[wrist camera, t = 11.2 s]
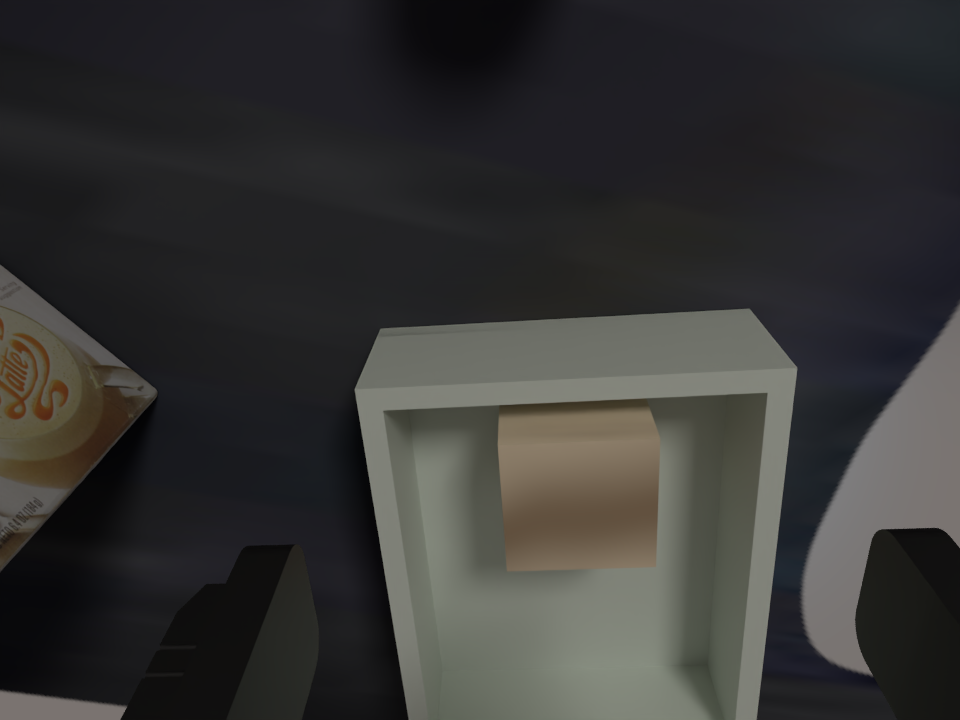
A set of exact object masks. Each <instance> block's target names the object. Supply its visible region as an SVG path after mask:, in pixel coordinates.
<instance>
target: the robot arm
mask: <svg viewBox="0 0 960 720" xmlns="http://www.w3.org/2000/svg"><path fill="white" fill-rule="evenodd" d="M855 621H856V622H855V623H856V632H857V633H856V634H857V639H858V643H859V647H860V650H861V653H862V655H863V657H864V659H865V661H866V664H867V665H868V667H869V669H870V671H871V673H872V674H873V676H874V678H875V680H876V682H877V683H878V685H879V687H880V689H881V691H882V692H883V694H884V696H885V698H886V700H887V702H888V703H889V705H890V707H891V709H892V711H893V712H894V714H895V716H896V718H897V720H960V548H959V547H958V546H957V544H956V543H955V542H954V541H953V539H952V538H951V537H950V536H949V535H948V534H947V533H946V532H945V531H943V530H941V529H939V528H916V529H882V530H879V531H877V532H876V533H875V535H874V536H873V538H872V542H871V546H870V550H869V555H868V559H867V564H866V568H865V573H864V577H863V582H862V587H861V591H860V596H859V600H858V605H857V609H856V618H855ZM318 649H319V629H318V622H317V616H316V612H315V607H314V602H313V597H312V592H311V587H310V582H309V577H308V572H307V567H306V563H305V558H304V554H303V551H302V549H301V547H300V546H299V545H297V544H296V545H261V546H246V547H245V548H243V550H242V551H241V553H240V554H239V556H238V559H237V561H236V563H235V565H234V567H233V569H232V571H231V573H230V576H229V578H228V580H227V582H226V584H206V585H205V586H204V587H203V588H202V589H201V590H200V591H199V592H198V593H197V594H196V595H195V596H194V597H192V598H191V599H190V600H189V601H188V602H187V603H186V604H185V605H184V606H183V607H182V608H181V609H180V610H179V611H178V612H177V614H176V615H175V617H174V619H173V621H172V623H171V625H170V627H169V629H168V631H167V632H166V634H165V636H164V638H163V640H162V642H161V644H160V651H156V653H155V655H154V657H153V659H152V661H151V663H150V665H149V667H148V668H147V670H146V677H145V679H142V680H141V682H140V684H139V685H138V687H137V689H136V691H135V693H134V695H133V697H132V699H131V701H130V703H129V704H128V706H127V708H126V710H125V712H124V714H123V716H122V718H121V720H302V717H303V713H304V709H305V706H306V702H307V699H308V695H309V691H310V688H311V684H312V681H313V677H314V673H315V669H316V665H317V659H318Z"/></svg>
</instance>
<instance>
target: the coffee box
mask: <svg viewBox="0 0 960 720" xmlns="http://www.w3.org/2000/svg"><path fill="white" fill-rule="evenodd" d="M157 393H158V392H157V390H156V389H155V388H154V387H152V386H151V385H150V384H149V383H148V382H147V381H145V380H144V379H143V378H142V377H140V376H139V375H138V374H136V373H135V372H134V371H133V370H131V369H130V368H129V367H128V366H126V365H125V364H124V363H123V362H121V361H120V360H119V359H118V358H116V357H115V356H114V355H113V354H111V353H110V352H109V351H108V350H106V349H105V348H104V347H103V346H101V345H100V344H99V343H98V342H96V341H95V340H94V339H93V338H91V337H90V336H89V335H88V334H86V333H85V332H84V331H83V330H81V329H80V328H79V327H78V326H76V325H75V324H74V323H73V322H71V321H70V320H69V319H68V318H66V317H65V316H64V315H63V314H61V313H60V312H59V311H58V310H56V309H55V308H54V307H53V306H51V305H50V304H49V303H48V302H47V301H45V300H44V299H43V298H41V297H40V296H39V295H38V294H36V293H35V292H34V291H33V290H31V289H30V288H29V287H28V286H26V285H25V284H24V283H23V282H21V281H20V280H19V279H18V278H16V277H15V276H14V275H13V274H11V273H10V272H9V271H8V270H6V269H5V268H4V267H2V266H1V265H0V572H1V570H2V569H3V568H4V567H5V566H6V565H7V564H8V563H9V562H10V561H11V559H12V558H13V557H14V556H15V555H16V554H17V553H18V552H19V551H20V550H21V549H22V547H23V546H24V545H25V544H26V543H27V542H28V541H29V540H30V539H31V537H32V536H33V535H34V534H35V533H36V532H37V531H38V530H39V529H40V528H41V526H42V525H43V524H44V523H45V522H46V521H47V520H48V519H49V518H50V516H51V515H52V514H53V513H54V512H55V511H56V510H57V509H58V508H59V507H60V505H61V504H62V503H63V502H64V501H65V500H66V499H67V498H68V496H69V495H70V494H71V493H72V492H73V491H74V490H75V489H76V487H77V486H78V485H79V484H80V483H81V482H82V481H83V480H84V479H85V478H86V476H87V475H88V474H89V473H90V472H91V471H92V470H93V469H94V468H95V467H96V465H97V464H98V463H99V462H100V461H101V460H102V458H103V457H104V456H105V455H106V454H107V453H108V452H109V450H110V449H111V448H112V447H113V446H114V445H115V444H116V443H117V441H118V440H119V439H120V438H121V437H122V436H123V434H124V433H125V432H126V431H127V430H128V429H129V428H130V427H131V425H132V424H133V423H134V422H135V421H136V420H137V419H138V418H139V416H140V415H141V414H142V413H143V412H144V411H145V410H146V408H147V407H148V406H149V405H150V404H151V403H152V402H153V401H154V399H155V398H156V397H157Z"/></svg>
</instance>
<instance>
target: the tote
mask: <svg viewBox="0 0 960 720" xmlns="http://www.w3.org/2000/svg"><path fill="white" fill-rule="evenodd" d="M796 374H797V367H796V366H795V365H794V363H793V362H792V361H791V360H790V358H789V357H788V356H787V355H786V353H785V352H784V351H783V350H782V349H781V347H780V346H779V345H778V344H777V342H776V341H775V340H774V339H773V337H772V336H771V335H770V334H769V332H768V331H767V330H766V329H765V327H764V326H763V325H762V324H761V322H760V321H759V320H758V319H757V318H756V316H755V315H754V314H753V313H752V311H751V310H750V309H735V310H717V311H698V312H680V313H661V314H643V315H624V316H606V317H588V318H569V319H551V320H532V321H514V322H495V323H477V324H458V325H440V326H421V327H403V328H384V329H380V331H379V333H378V336H377V338H376V341H375V343H374V345H373V348H372V350H371V352H370V355H369V357H368V359H367V362H366V364H365V366H364V369H363V371H362V373H361V376H360V378H359V380H358V383H357V385H356V388H355V394H356V401H357V407H358V413H359V419H360V425H361V431H362V437H363V443H364V449H365V456H366V462H367V468H368V474H369V480H370V486H371V492H372V498H373V504H374V510H375V517H376V523H377V529H378V535H379V541H380V547H381V553H382V559H383V565H384V572H385V578H386V584H387V590H388V596H389V602H390V608H391V614H392V620H393V626H394V633H395V639H396V645H397V651H398V657H399V663H400V669H401V675H402V681H403V688H404V694H405V700H406V706H407V712H408V718H409V720H756V719H757V710H758V701H759V693H760V684H761V676H762V667H763V658H764V650H765V641H766V632H767V624H768V615H769V607H770V598H771V589H772V581H773V572H774V564H775V555H776V546H777V538H778V529H779V520H780V512H781V503H782V495H783V486H784V477H785V469H786V460H787V452H788V443H789V434H790V426H791V417H792V408H793V400H794V391H795V383H796ZM643 398H646V399H647V402H648V405H649V407H650V410H651V413H652V416H653V419H654V422H655V425H656V428H657V430H658V433H659V436H660V465H659V494H658V523H657V553H656V567H644V568H610V569H576V570H542V571H508V572H507V565H506V551H505V538H504V524H503V510H502V497H501V483H500V469H499V456H498V425H499V405H513V404H535V403H556V402H578V401H599V400H621V399H643Z"/></svg>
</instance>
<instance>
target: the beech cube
mask: <svg viewBox="0 0 960 720" xmlns="http://www.w3.org/2000/svg"><path fill="white" fill-rule="evenodd" d="M498 456H499V469H500V483H501V497H502V510H503V524H504V538H505V551H506V565H507V572H508V571H542V570H576V569H610V568H644V567H656V553H657V523H658V494H659V465H660V436H659V433H658V430H657V428H656V425H655V422H654V419H653V416H652V413H651V410H650V407H649V405H648V402H647V399H646V398H643V399H621V400H599V401H578V402H556V403H535V404H513V405H499V425H498Z"/></svg>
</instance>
